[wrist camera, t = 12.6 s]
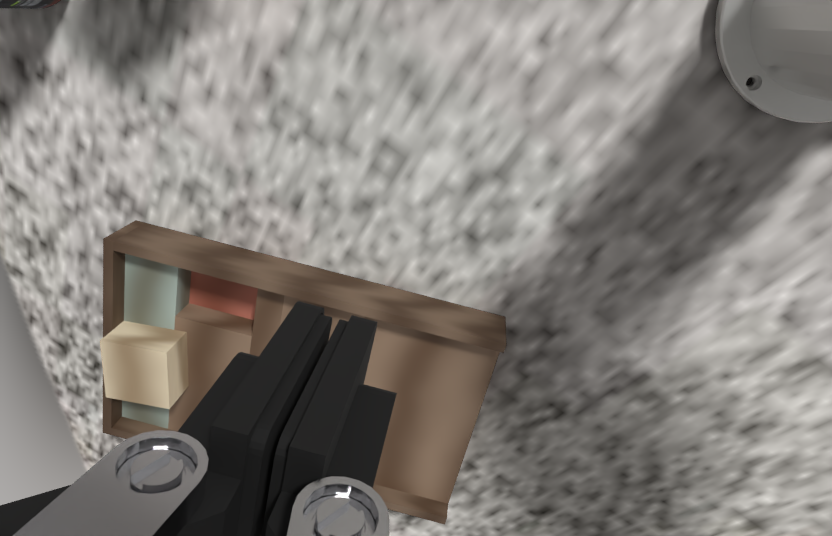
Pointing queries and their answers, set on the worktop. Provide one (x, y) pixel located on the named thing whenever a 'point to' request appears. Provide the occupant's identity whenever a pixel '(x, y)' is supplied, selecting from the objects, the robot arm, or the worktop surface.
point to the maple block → (145, 364)
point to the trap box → (341, 298)
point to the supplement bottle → (27, 3)
